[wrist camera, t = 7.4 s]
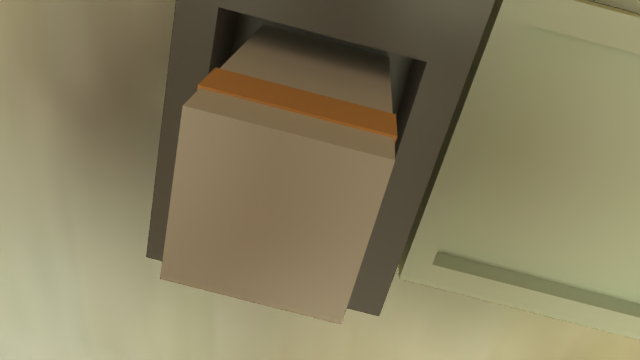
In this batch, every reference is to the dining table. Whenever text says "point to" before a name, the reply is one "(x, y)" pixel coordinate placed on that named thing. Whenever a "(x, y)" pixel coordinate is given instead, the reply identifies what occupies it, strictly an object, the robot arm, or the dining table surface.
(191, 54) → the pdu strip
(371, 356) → the dining table surface
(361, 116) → the plug
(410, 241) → the tray
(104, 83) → the dining table surface
